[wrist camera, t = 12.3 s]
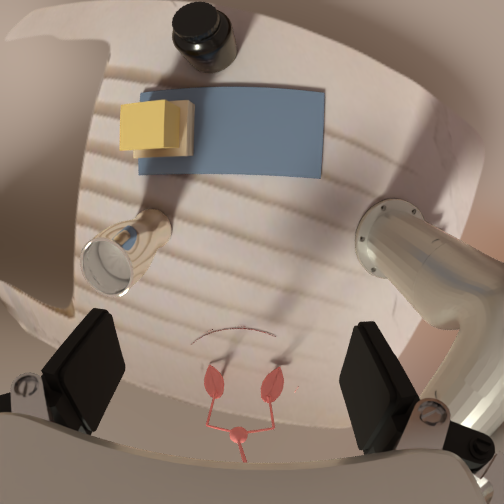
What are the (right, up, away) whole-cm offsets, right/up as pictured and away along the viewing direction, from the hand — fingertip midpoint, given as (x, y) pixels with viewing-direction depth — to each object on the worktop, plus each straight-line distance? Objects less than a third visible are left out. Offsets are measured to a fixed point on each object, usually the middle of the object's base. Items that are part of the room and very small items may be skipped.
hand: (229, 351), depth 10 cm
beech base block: (-10, +20, +24) cm, 33 cm away
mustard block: (-10, +19, +21) cm, 29 cm away
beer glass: (-14, +7, +30) cm, 34 cm away
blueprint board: (-2, +20, +25) cm, 32 cm away
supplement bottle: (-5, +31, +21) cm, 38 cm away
